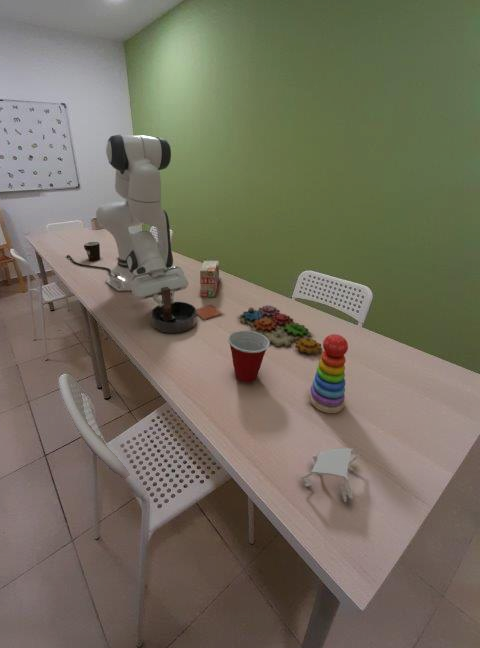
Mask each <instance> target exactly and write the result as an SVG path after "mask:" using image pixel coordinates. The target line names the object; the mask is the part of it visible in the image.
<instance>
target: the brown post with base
mask: <svg viewBox="0 0 480 648" xmlns="http://www.w3.org/2000/svg"><path fill="white" fill-rule="evenodd" d="M161 294H162V295H161V301H164V304H165V306H164V307H163V314H162V315H160V321H164V322H176V318H175V317H174V316H173V315H172V310H171V294H170V288H169V287H163V288H161Z"/></svg>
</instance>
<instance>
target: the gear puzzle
mask: <svg viewBox="0 0 480 648" xmlns="http://www.w3.org/2000/svg"><path fill="white" fill-rule="evenodd" d="M239 318H240V322H241V323H242V324H245V323H246V324H248V325H249V326H251V331H254V332H257V333H260V334H262V335H264V336H265V337H267V339H268V340H269V342H270V344H273V345H274V346H275V347H280V346H284V347H289V346H291V345H292V343H293V342H294V344H295V345H294V348H295V349H299V352H302V353H303V352H305V353H306V354H307V355H310V354H317V355H318V352H322V351H323V347H322V343H319V342H317V340H316V339H313V338H309V337H310V336H311V335H312V333H311V332H310V331H309V329H308V328H307V327H305V324H299V323H298V322H294V319H293V318H291V316H290V315H287V314H284V313H280V309H278V308H277V307H275V306H273V305H263V306H262V307H259V308H258V309H257V310H256V309H254V307H252V306H250V307H249V308H248V310H246V311H243V313H242V314H240V315H239Z"/></svg>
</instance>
